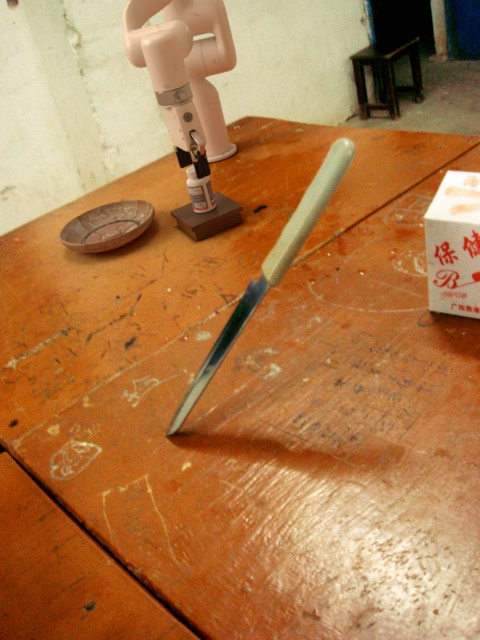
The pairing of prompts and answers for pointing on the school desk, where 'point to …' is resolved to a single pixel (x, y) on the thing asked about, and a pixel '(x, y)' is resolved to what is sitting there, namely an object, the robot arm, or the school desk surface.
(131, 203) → the ceramic bowl
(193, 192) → the pill bottle
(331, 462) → the school desk surface
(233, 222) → the platform
